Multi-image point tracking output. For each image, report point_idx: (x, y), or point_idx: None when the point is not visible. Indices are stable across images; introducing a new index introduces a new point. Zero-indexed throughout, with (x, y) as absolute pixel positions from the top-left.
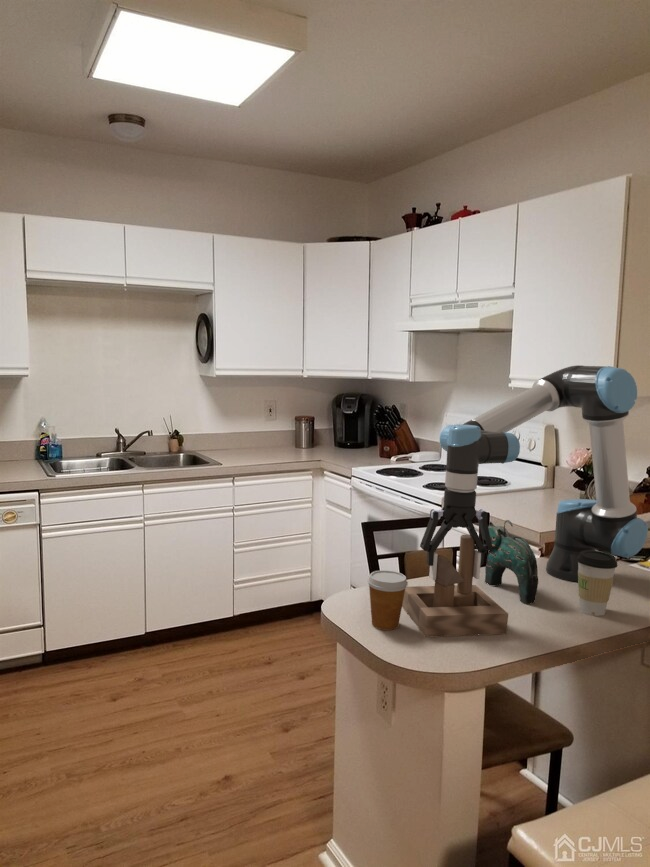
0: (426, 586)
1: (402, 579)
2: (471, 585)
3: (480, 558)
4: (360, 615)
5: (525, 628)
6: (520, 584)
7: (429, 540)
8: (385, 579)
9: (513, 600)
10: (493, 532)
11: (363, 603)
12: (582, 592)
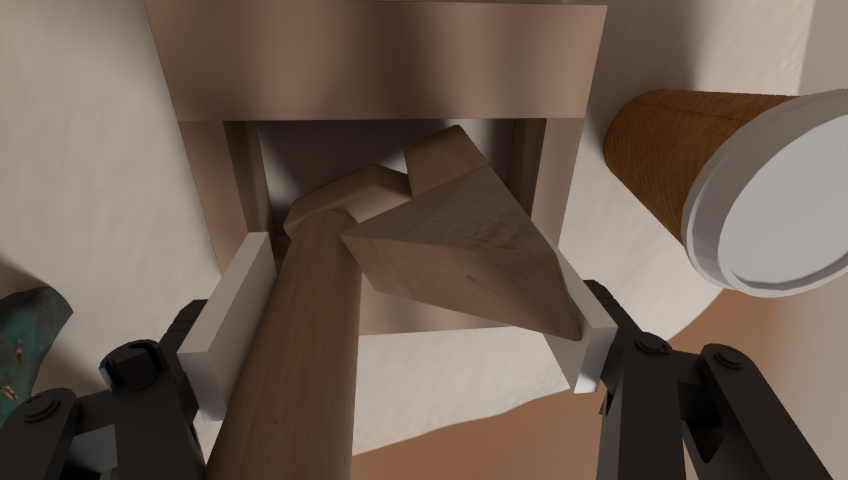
0: (450, 327)
1: (758, 182)
2: (295, 237)
3: (199, 319)
4: None
5: (84, 54)
6: (28, 356)
7: (762, 430)
8: (845, 185)
9: (100, 316)
10: None
11: (623, 297)
12: None
